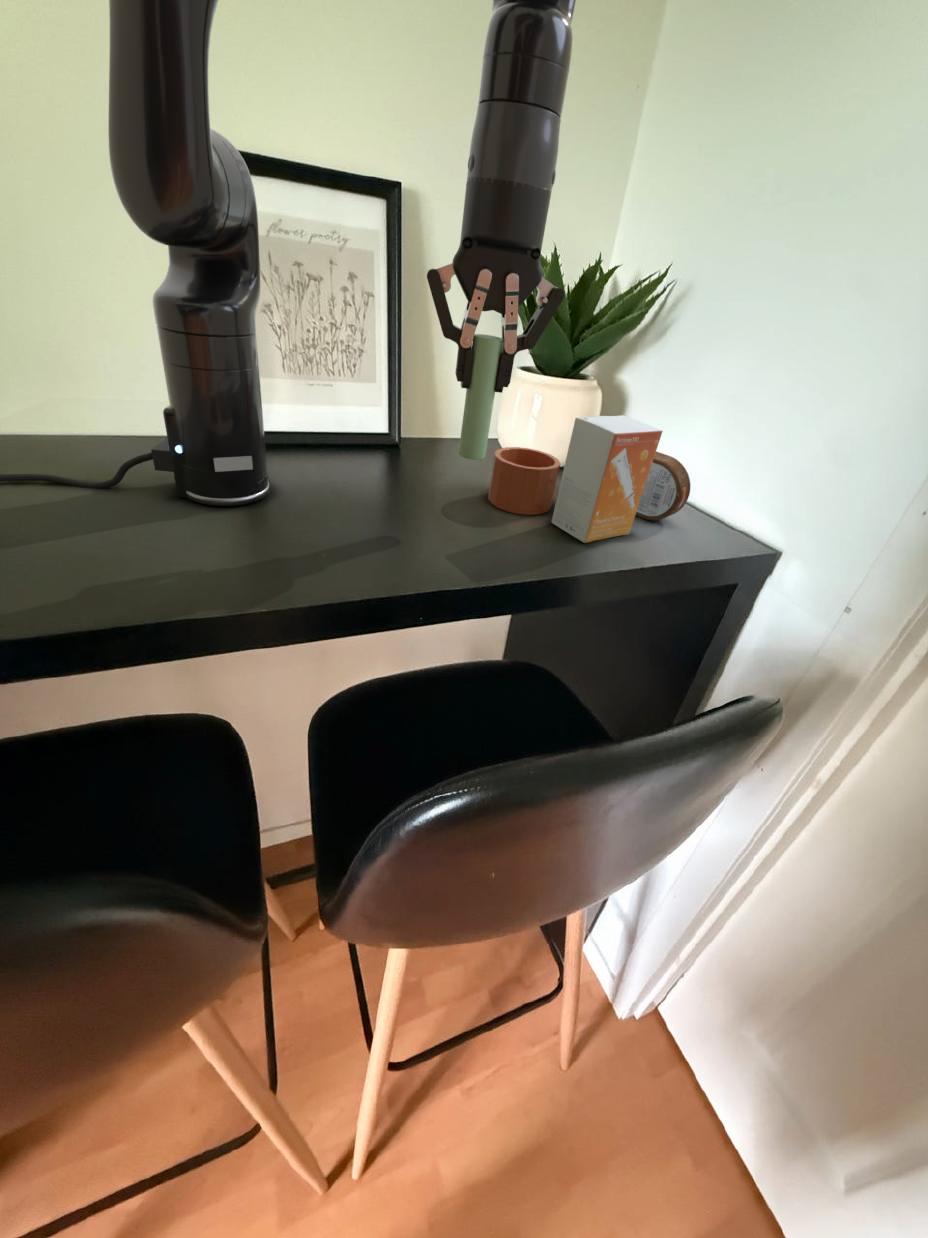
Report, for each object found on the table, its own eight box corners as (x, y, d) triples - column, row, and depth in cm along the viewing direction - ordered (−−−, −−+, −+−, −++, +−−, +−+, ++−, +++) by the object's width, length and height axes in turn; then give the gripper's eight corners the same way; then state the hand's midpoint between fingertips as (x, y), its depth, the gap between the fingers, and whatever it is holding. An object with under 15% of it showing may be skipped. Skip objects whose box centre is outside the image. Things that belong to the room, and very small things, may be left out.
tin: (679, 525, 74) (701, 463, 69) (668, 531, 72) (691, 468, 67) (584, 488, 81) (599, 430, 77) (572, 492, 79) (587, 433, 75)
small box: (584, 545, 65) (614, 433, 58) (549, 522, 69) (573, 415, 62) (631, 535, 69) (664, 429, 62) (595, 514, 73) (623, 413, 66)
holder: (491, 511, 70) (499, 465, 67) (485, 487, 77) (491, 444, 73) (556, 517, 71) (566, 471, 68) (543, 492, 78) (552, 450, 74)
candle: (459, 458, 60) (474, 336, 54) (457, 449, 63) (472, 332, 56) (486, 461, 61) (505, 340, 54) (483, 452, 63) (501, 336, 57)
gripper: (576, 197, 52) (539, 389, 62) (429, 171, 51) (413, 373, 60) (598, 191, 46) (552, 405, 56) (430, 161, 44) (413, 388, 54)
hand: (480, 387), depth 58 cm, fingers closed on candle, 3 cm apart
